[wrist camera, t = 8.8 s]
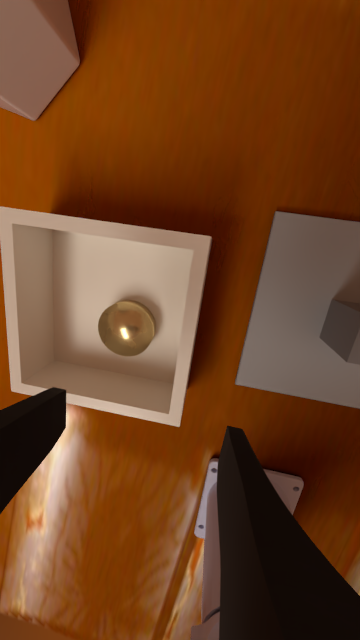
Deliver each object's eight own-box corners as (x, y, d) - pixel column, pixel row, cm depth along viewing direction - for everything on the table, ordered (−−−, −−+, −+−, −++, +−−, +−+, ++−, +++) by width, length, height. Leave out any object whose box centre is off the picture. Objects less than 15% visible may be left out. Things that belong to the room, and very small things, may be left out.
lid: (397, 409, 20) (455, 462, 15) (234, 377, 21) (239, 417, 16) (477, 240, 16) (589, 238, 11) (272, 213, 17) (294, 200, 12)
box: (187, 389, 21) (179, 427, 17) (51, 362, 22) (11, 391, 18) (212, 238, 17) (211, 236, 13) (48, 215, 18) (-3, 206, 14)
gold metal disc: (148, 356, 20) (144, 363, 19) (100, 340, 20) (93, 346, 19) (162, 309, 18) (158, 313, 17) (110, 292, 19) (103, 295, 17)
